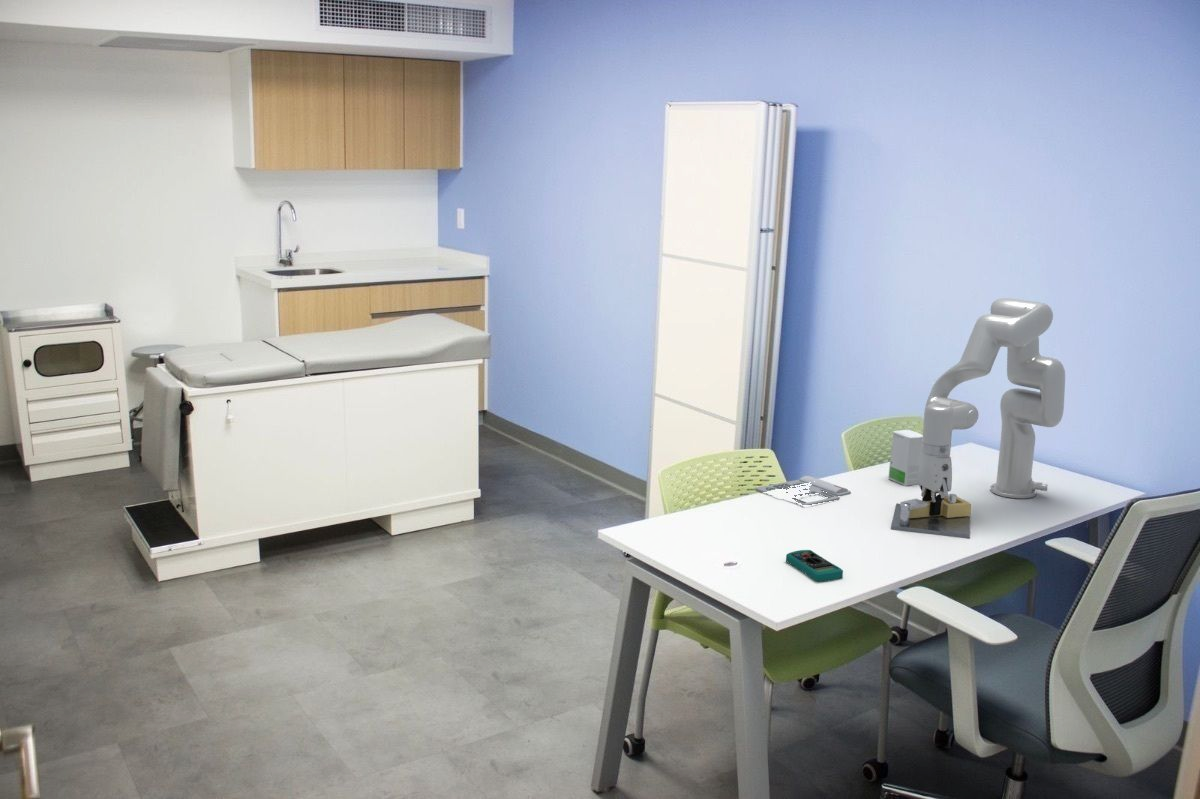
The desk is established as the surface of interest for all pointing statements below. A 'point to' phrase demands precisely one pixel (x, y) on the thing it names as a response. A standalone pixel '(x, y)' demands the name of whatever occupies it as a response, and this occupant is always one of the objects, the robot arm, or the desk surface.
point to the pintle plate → (929, 520)
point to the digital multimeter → (814, 565)
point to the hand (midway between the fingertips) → (930, 512)
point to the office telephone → (816, 487)
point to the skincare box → (905, 457)
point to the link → (945, 509)
